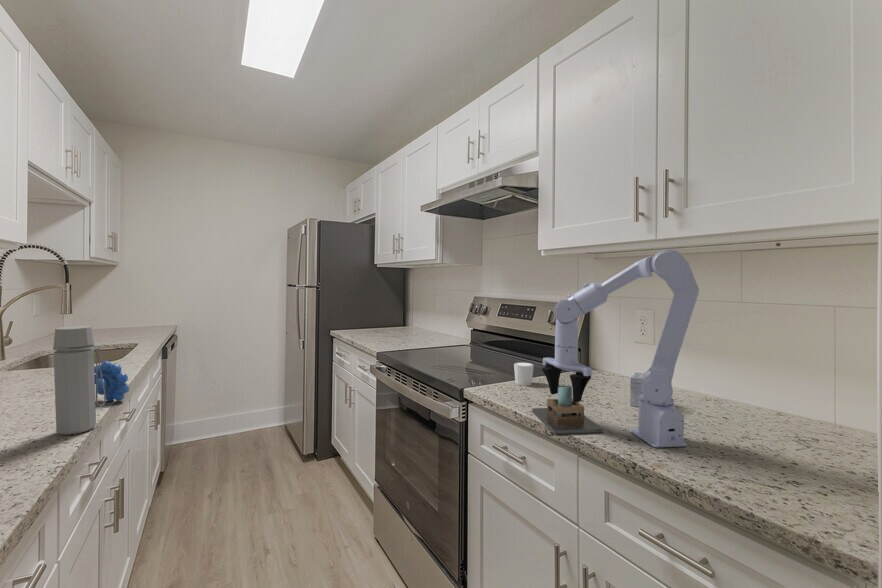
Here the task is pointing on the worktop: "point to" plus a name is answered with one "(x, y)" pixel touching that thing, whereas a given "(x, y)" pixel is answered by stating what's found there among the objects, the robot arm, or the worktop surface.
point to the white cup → (523, 373)
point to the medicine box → (635, 388)
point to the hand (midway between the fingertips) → (565, 397)
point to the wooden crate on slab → (566, 418)
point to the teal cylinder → (565, 397)
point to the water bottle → (75, 379)
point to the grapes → (111, 381)
